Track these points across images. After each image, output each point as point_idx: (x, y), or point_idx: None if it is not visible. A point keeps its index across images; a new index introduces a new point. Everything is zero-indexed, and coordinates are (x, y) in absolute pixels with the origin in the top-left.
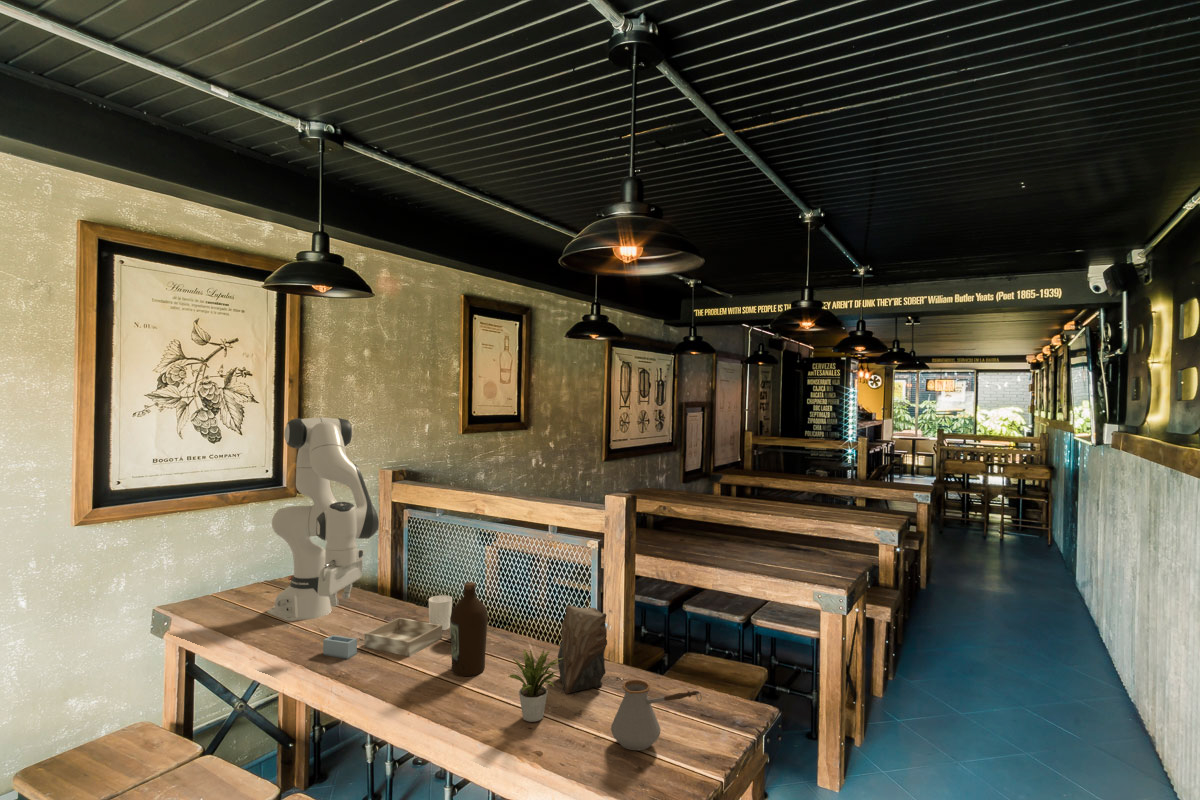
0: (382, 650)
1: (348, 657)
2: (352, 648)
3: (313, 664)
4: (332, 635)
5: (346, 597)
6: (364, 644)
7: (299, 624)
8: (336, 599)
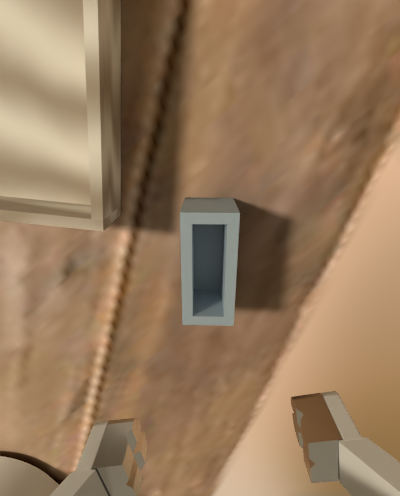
0: (119, 123)
1: (231, 199)
2: (209, 205)
3: (291, 278)
4: (186, 322)
5: (134, 433)
6: (117, 217)
7: (70, 469)
8: (368, 449)
